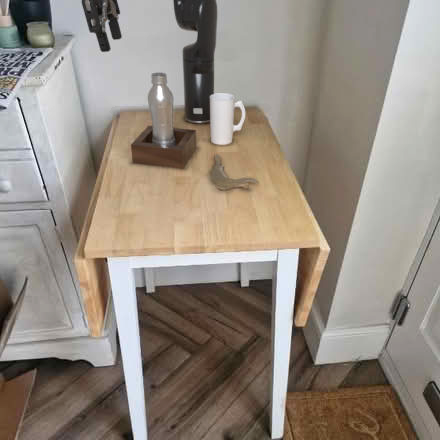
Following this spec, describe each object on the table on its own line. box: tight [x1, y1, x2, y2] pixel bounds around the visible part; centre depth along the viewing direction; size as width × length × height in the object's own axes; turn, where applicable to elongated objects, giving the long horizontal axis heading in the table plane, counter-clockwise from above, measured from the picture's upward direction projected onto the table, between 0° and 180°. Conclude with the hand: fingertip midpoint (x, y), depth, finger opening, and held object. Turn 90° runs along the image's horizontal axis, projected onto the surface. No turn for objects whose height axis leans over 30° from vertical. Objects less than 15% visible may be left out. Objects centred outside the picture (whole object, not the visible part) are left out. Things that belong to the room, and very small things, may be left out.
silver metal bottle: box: [147, 72, 176, 146], centre depth 108 cm, size 6×7×20 cm
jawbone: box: [210, 153, 260, 191], centre depth 106 cm, size 9×20×2 cm, turn 30°
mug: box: [209, 92, 246, 146], centre depth 119 cm, size 10×7×12 cm, turn 99°
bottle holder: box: [130, 125, 197, 170], centre depth 113 cm, size 14×14×5 cm
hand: (112, 44), depth 99 cm, fingers open, 8 cm apart
